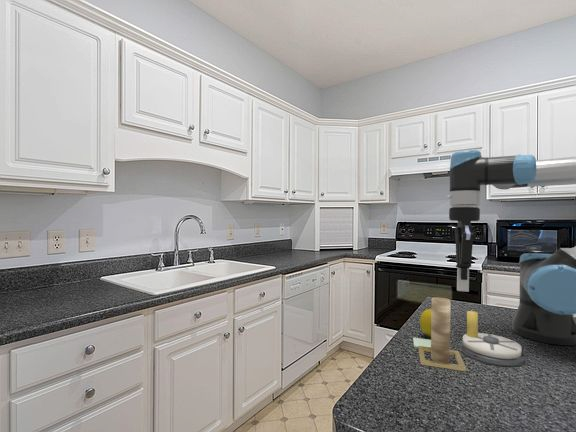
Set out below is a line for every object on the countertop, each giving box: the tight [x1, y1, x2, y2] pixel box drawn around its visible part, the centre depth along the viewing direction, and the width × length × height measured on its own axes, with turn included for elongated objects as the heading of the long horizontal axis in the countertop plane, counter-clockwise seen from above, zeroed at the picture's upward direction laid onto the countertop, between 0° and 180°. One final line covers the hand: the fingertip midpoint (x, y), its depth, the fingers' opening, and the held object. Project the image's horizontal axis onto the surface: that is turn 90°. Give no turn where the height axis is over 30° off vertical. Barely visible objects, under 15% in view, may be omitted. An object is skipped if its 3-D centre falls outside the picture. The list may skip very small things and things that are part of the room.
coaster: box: [412, 337, 431, 349], centre depth 82 cm, size 6×6×1 cm
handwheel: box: [462, 310, 523, 359], centre depth 77 cm, size 12×12×8 cm
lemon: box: [419, 308, 431, 338], centre depth 88 cm, size 6×6×8 cm
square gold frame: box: [417, 346, 467, 372], centre depth 74 cm, size 9×9×1 cm
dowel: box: [430, 296, 452, 363], centre depth 74 cm, size 4×4×14 cm
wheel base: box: [460, 340, 525, 368], centre depth 77 cm, size 13×13×1 cm
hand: (462, 290), depth 89 cm, fingers closed
